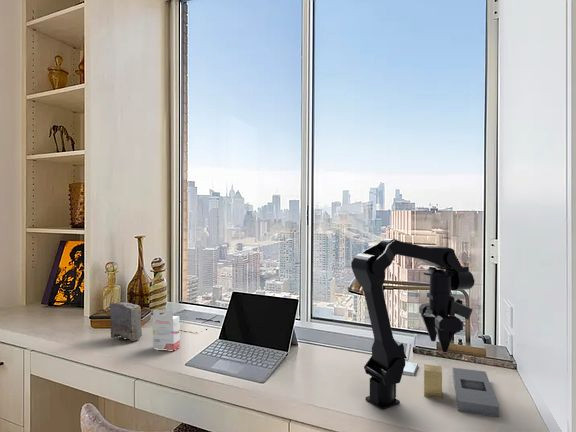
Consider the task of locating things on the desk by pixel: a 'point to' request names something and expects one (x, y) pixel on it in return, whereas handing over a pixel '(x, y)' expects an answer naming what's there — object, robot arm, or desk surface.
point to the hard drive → (410, 368)
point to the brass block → (433, 381)
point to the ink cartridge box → (166, 330)
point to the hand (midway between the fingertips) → (438, 346)
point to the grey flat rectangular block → (474, 392)
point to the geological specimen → (125, 320)
